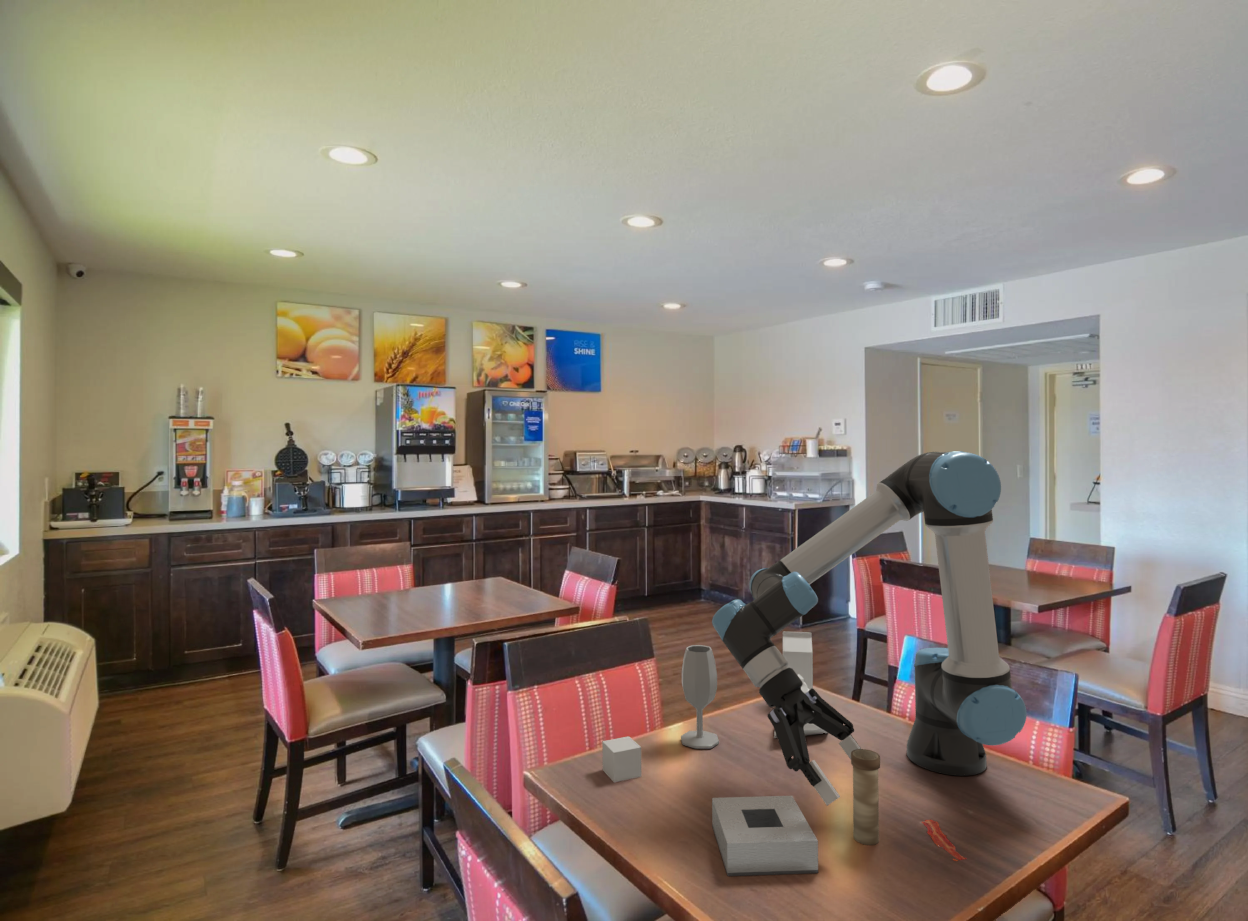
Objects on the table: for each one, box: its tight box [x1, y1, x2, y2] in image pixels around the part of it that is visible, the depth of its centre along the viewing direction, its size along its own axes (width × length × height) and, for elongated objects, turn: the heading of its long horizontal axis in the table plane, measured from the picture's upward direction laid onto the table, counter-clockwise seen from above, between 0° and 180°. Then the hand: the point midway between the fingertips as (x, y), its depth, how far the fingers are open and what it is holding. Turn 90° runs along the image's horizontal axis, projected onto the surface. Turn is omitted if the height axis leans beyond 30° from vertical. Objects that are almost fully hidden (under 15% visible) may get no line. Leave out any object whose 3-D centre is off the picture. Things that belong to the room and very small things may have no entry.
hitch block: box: [711, 795, 819, 877], centre depth 112 cm, size 14×14×5 cm
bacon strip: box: [921, 818, 968, 862], centre depth 116 cm, size 4×15×1 cm, turn 1°
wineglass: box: [680, 644, 720, 750], centre depth 154 cm, size 9×9×21 cm
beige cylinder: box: [850, 748, 881, 846], centre depth 115 cm, size 5×5×14 cm
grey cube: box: [601, 735, 642, 783], centre depth 139 cm, size 6×6×6 cm
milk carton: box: [782, 631, 814, 689], centre depth 175 cm, size 7×7×19 cm
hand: (852, 786), depth 116 cm, fingers open, 13 cm apart
